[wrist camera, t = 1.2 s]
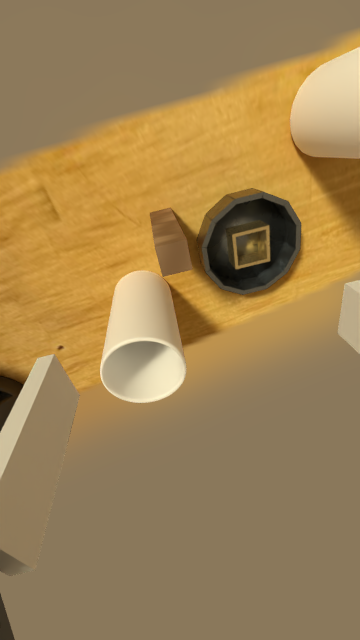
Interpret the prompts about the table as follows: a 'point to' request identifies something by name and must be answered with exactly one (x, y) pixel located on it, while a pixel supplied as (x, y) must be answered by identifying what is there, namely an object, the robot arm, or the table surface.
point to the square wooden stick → (170, 243)
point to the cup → (142, 341)
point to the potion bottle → (329, 109)
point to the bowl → (249, 241)
